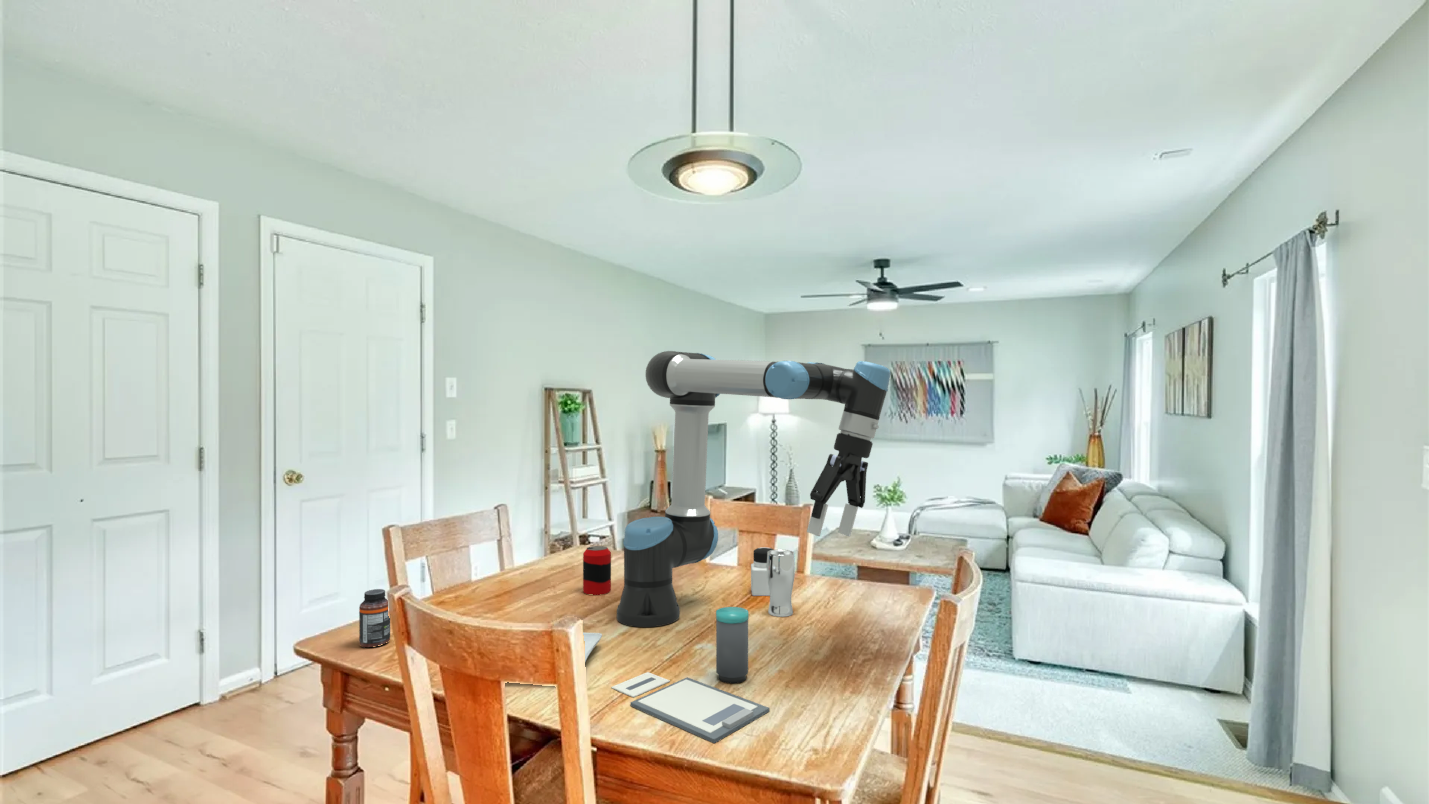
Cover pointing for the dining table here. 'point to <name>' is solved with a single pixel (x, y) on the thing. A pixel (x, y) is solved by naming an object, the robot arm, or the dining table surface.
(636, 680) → the word card
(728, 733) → the clipboard
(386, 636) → the supplement bottle
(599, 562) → the soda can
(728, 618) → the grey teal cylinder
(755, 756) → the dining table surface
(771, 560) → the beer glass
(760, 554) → the medicine bottle
